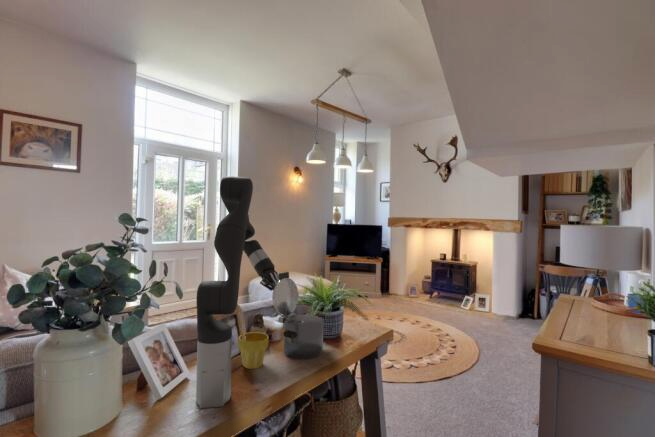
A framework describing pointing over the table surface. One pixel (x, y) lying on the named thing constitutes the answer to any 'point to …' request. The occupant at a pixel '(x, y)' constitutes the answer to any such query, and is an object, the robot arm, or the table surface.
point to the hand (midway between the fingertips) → (283, 296)
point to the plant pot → (253, 349)
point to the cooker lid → (285, 295)
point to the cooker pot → (302, 336)
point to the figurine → (258, 324)
